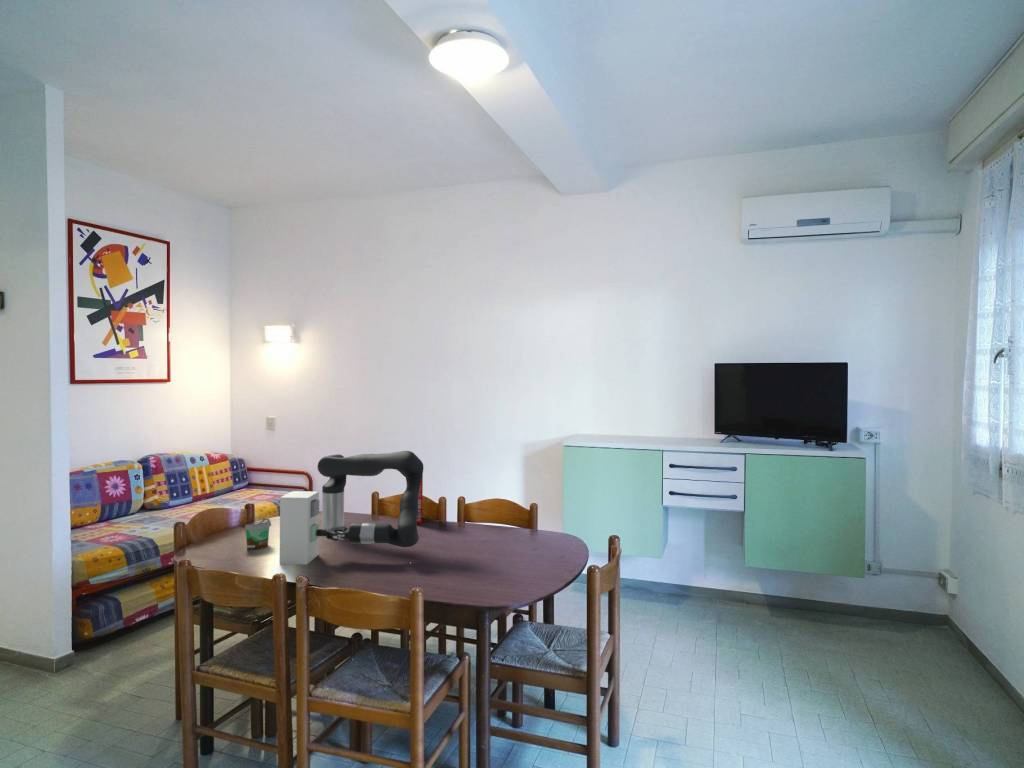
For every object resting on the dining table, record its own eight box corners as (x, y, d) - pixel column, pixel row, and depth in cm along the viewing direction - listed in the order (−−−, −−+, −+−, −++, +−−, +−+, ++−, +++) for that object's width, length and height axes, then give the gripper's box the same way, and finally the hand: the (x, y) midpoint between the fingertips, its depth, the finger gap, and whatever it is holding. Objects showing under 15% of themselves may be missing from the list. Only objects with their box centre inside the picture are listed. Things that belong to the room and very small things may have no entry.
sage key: (302, 537, 227) (303, 523, 227) (318, 537, 227) (319, 524, 227) (298, 540, 222) (298, 527, 222) (314, 541, 222) (314, 527, 222)
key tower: (291, 554, 231) (292, 491, 230) (318, 554, 231) (318, 491, 230) (279, 564, 219) (280, 497, 218) (307, 564, 219) (307, 497, 218)
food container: (258, 551, 234) (259, 525, 234) (244, 550, 235) (244, 524, 235) (277, 543, 246) (277, 518, 246) (263, 542, 247) (264, 517, 247)
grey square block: (303, 513, 227) (303, 499, 227) (319, 513, 227) (319, 500, 227) (298, 516, 222) (298, 502, 222) (314, 516, 222) (314, 502, 222)
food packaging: (422, 523, 283) (422, 469, 282) (410, 524, 281) (411, 470, 281) (417, 516, 297) (418, 465, 296) (406, 517, 295) (407, 465, 295)
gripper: (368, 518, 231) (322, 518, 231) (359, 527, 218) (310, 526, 218) (367, 538, 231) (322, 538, 231) (358, 548, 218) (310, 547, 218)
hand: (316, 532), depth 225 cm, fingers closed
